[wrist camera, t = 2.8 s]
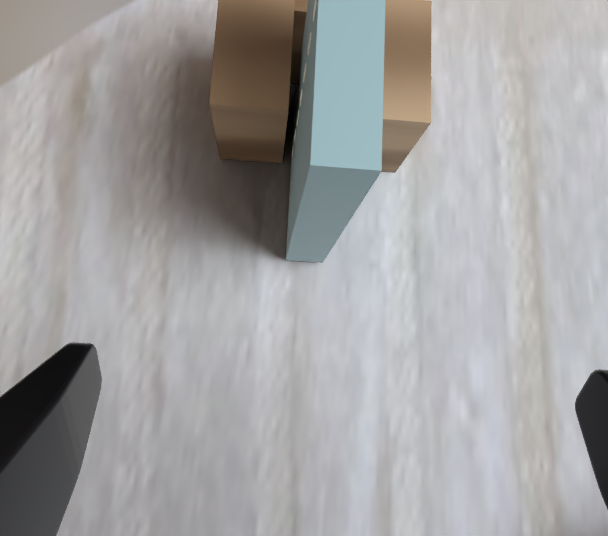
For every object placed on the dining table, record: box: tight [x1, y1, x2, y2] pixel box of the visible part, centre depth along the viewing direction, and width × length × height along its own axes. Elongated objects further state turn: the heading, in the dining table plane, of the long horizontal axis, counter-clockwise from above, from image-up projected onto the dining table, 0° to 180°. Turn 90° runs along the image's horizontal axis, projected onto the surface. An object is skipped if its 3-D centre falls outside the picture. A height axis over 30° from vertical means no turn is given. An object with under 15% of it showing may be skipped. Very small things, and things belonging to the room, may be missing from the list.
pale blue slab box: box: [286, 0, 386, 263], centre depth 17 cm, size 8×2×11 cm, turn 177°
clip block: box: [209, 0, 431, 172], centre depth 21 cm, size 5×8×5 cm, turn 87°
